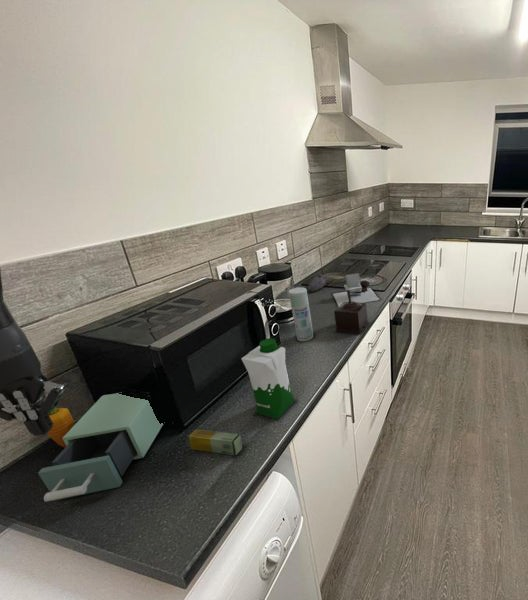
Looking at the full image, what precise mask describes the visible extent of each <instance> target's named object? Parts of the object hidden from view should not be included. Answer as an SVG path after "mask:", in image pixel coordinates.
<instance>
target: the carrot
mask: <svg viewBox="0 0 528 600" xmlns="http://www.w3.org/2000/svg"><path fill="white" fill-rule="evenodd" d="M36 409H37V408H36ZM48 415H49V417H50V419H51V420H52V422H53V426H52V428H51V429H50V430H49V431H48V432H47V433H46V434H47V435H48V436H49V437H50V439H52V440H53V441H54V442H55V443H56V445H58V446H60V447H62V448H65V447H66V444H65V442H64V441H63V439H62V438H63V437H64V436H65V435H66V434H67V433H68V432H69V431H70V429H71V428H72V427H73V426H74V425H75V424H76V423H75V421H74V418H73V416H72V414H71V412H70V410H69V409H68V408H67V407H57V406H56V407H55V408H54V409H53V410H52V411H51V412H49V413H48Z"/></svg>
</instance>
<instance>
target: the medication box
mask: <svg viewBox="0 0 528 600" xmlns="http://www.w3.org/2000/svg"><path fill="white" fill-rule="evenodd" d="M241 437H242V436H241V434H240V433H232V432H223V431H217V430H205V429H195V430H194V431H192V432H191V433H190V434H189V435H188V440H189V444H190V445H189V446H190V449H191V450H193V451H201V452H207V453H208V452H209V453H215V454H216V453H217V454H223V455H230V456H237V455H238V454H239V453H240V452H241V451H242V450H243V443H242V438H241Z"/></svg>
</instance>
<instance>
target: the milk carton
mask: <svg viewBox="0 0 528 600" xmlns="http://www.w3.org/2000/svg"><path fill="white" fill-rule="evenodd" d="M240 359H241V361H242V363H243V365H244V367H245V369H246V371H247V374H248V377H249V381H250V385H251V389H252V393H253V396H254V400H255V407H256V414H258V415H262V416H265V417H269V418H272V419H276V420H278V419H279V418H281V416H282V415H283V414H284V413H285V412H286V411H287V410H288V409H290V407H291V406H292V405H293V404H294V403H295V399H294V396H293V392H292V390H291V385H290V380H289V376H288V370H287V364H286V347H283V346H279V345H278V344H277V340H276V339H275V338H273V337H271V338H270V337H268V338H265V339H262V340H260V342H259V345H258V346H256V347H255V348H254V349H252V350H250V351H249V352H248V353H247V354H246V355H244V356H243V357H241V358H240Z"/></svg>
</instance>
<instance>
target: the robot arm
mask: <svg viewBox="0 0 528 600" xmlns="http://www.w3.org/2000/svg"><path fill="white" fill-rule="evenodd" d="M2 280H3V279H2V270H1V268H0V419H2V420H4V421H6V422H11V421H13V420H18V421H19V422H21V423H23V425H24V426H25V428H26V429H27V431H28V432H29V433H30V434H32V435H33V436H34V437H38V436H44V435H47V434H48V433H47V432H48V431H49V430H50V429H51V428H52V426H53V422H52V420H51V419H50V417H49V415H48V413H49V412H51V411H52V410H53V409H54V408H55V407H56V408H57V407H58V405H59V403H60V401H61V400H62V397H63V396H64V394H65V392H66V390H67V389H68V387H69V384H68V383H67V382H65V381H60V382H59V384H58V383H56V382H52V381H50V380H49V377H48V376H47V375H46V374H44V373H43V372H42V364H41V363H42V362H41V361H40V360H39V358H38V356H37V353H36V352H35V349H34V348H33V346H32V345H31V343H30V341H29V338H28V336H27V335H26V333H25V332H24V330H23V328H21V326H20V325H19V324H18V322H17V321H16V319H15V317H14V315H13V313H12V312H11V310H10V308H9V306H8V305H7V302H6V301H5V299H4V289H3V281H2ZM36 408H37V409H36ZM4 409H5V410H4Z"/></svg>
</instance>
